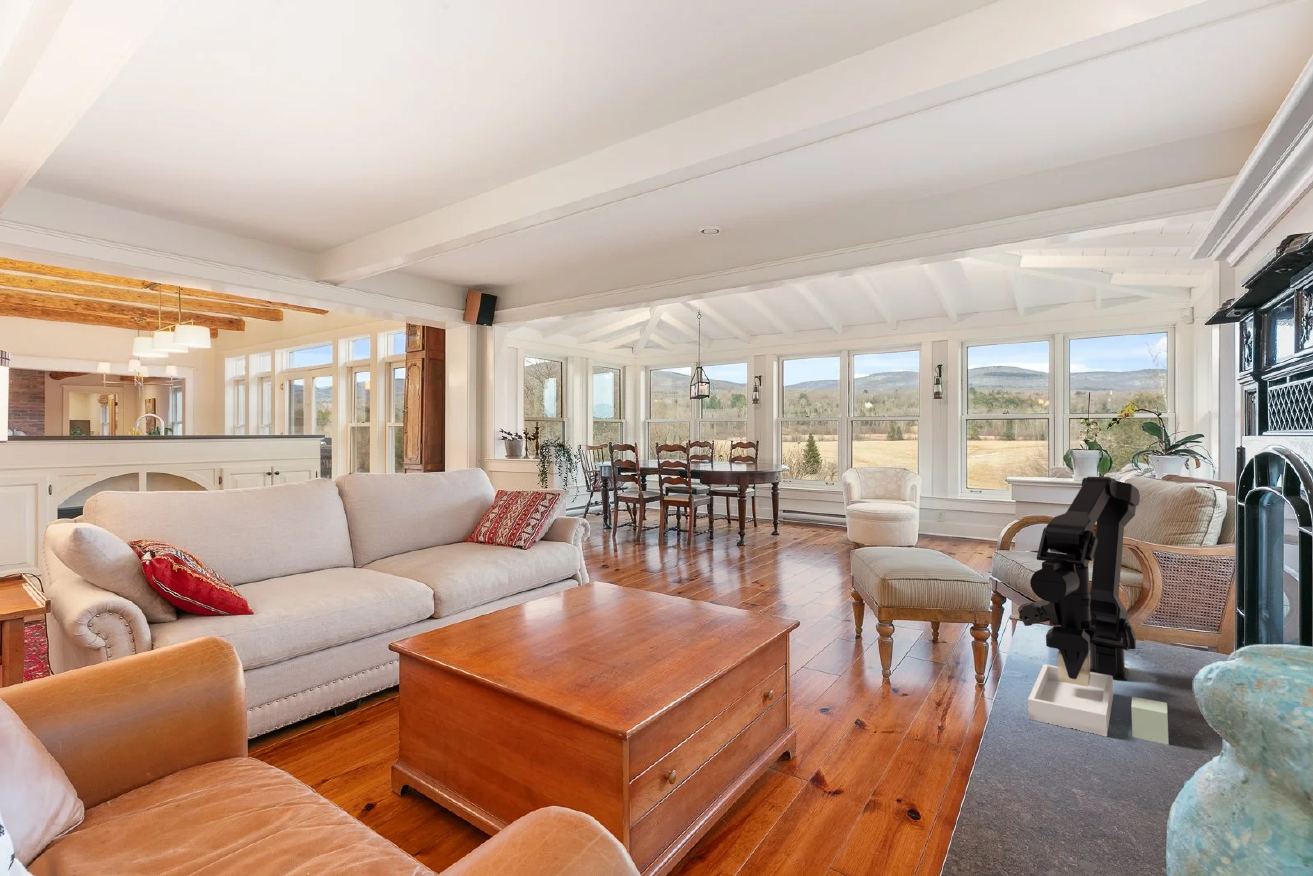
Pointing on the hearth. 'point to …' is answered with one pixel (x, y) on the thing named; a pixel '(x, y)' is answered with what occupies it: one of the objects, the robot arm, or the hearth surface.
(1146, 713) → the green block
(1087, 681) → the birch block
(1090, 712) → the tray
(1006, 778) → the hearth surface
